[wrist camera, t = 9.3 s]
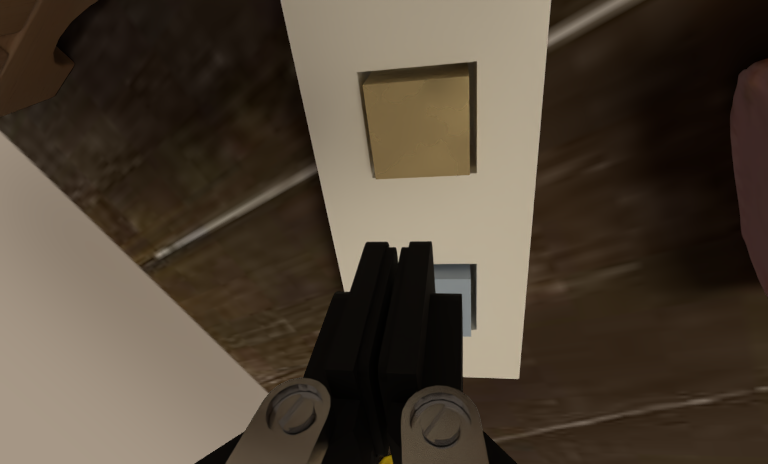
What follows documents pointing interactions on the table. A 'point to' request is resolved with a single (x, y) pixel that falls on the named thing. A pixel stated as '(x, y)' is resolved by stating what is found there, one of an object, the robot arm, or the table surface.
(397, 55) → the button console
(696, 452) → the table surface
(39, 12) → the wooden toy
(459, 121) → the brass button
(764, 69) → the face sculpture
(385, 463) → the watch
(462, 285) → the slate-blue button
